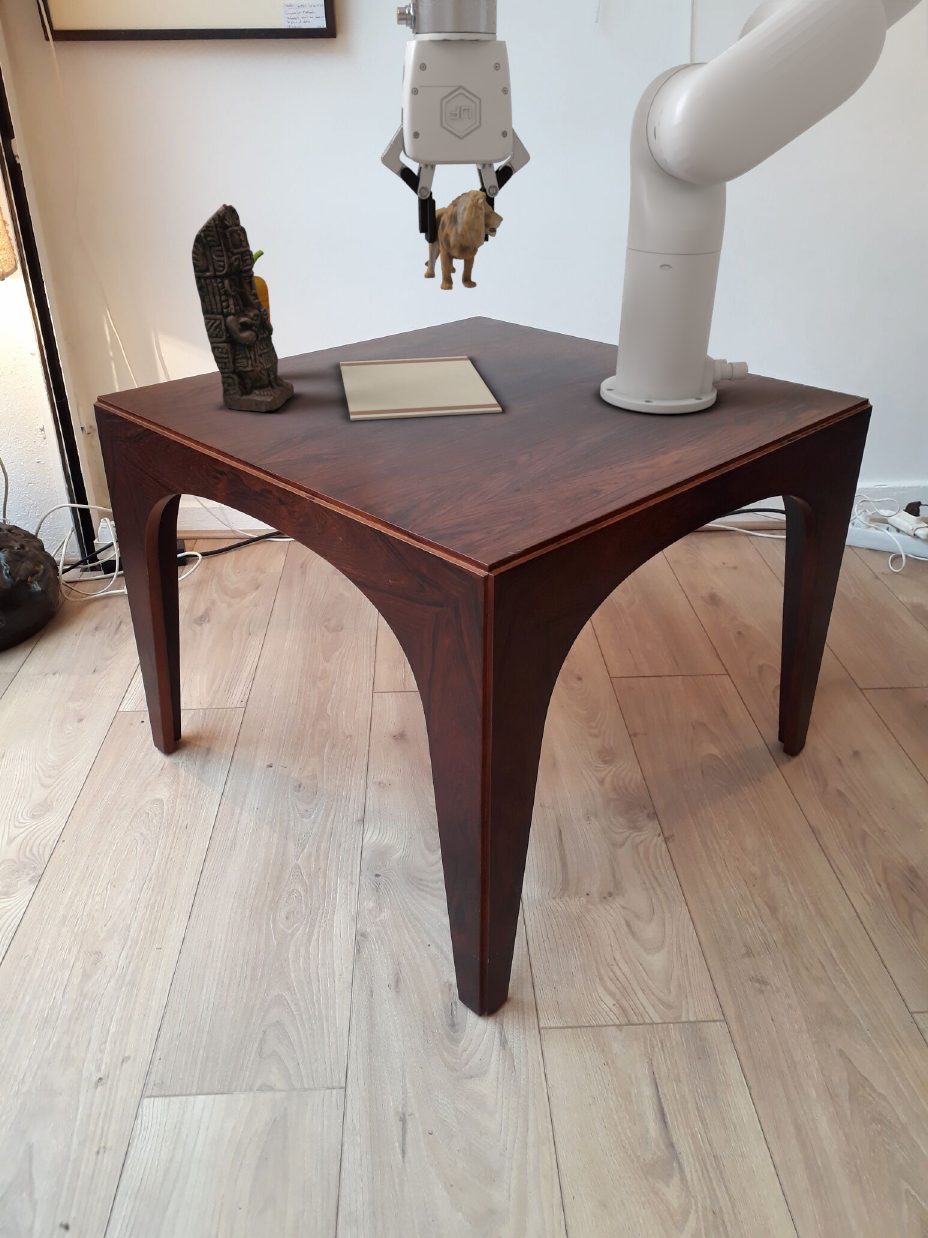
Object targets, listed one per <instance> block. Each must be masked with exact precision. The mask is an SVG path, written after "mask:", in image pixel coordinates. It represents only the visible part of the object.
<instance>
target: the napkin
mask: <svg viewBox="0 0 928 1238" xmlns="http://www.w3.org/2000/svg"><path fill="white" fill-rule="evenodd" d="M339 366H340V371H341V376H342V377H341V378H342V382H343V386H344V392H345V397H346V402H347V408H348V413H349V418H350V421H351V422H352V421H370V420H387V419H388V420H389V419H405V418H406V419H407V418H422V417H441V416H460V415H475V414H476V415H477V414H493V413H494V414H495V413H503V409H502V407H501V405H500V404H499V403H498V402H497V400H496V398H495V397H494V395H493V393H492V392H491V391H490V389H489V388H488V386H487V385H486V383H485V382H484V380H483V379H482V377H481V376H480V374H479V372H478V371H477V370H476V368H475V367H474V365H473V364H472V362H471V360H470V358H469V357H468V356H467V355H463V356H461V355H460V356H440V357H439V356H438V357H437V356H436V357H419V358H417V357H415V358H397V359H396V358H395V359H374V360H353V361H339Z"/></svg>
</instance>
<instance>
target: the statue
mask: <svg viewBox="0 0 928 1238" xmlns="http://www.w3.org/2000/svg"><path fill="white" fill-rule="evenodd" d="M253 254H254V252H253V251H252V250H251V246H250V241H249V239H248V233H247V230H246V228H245V227H244V226H243V225H242V224H241V219H240V215H239V213H238V210H237V209H236V208H235V207H234V206H233V205H232V204H229V205H227V204H226V203H223V204H222V205H221V206H219V207H218V209H217V210H216V211H215V212H214V213H213V214H212V215H211V216H210V217H208V219H207V220H206V221H205V223H204V224H203V225H202V226H201V227H200V228H199V230H198V231H197V233H196V234H195V237H194V239H193V243H192V248H191V261H192V269H193V275H194V281H195V286H196V290H197V294H198V297H199V301H200V307H201V313H202V316H203V322H204V323H203V325H204V328H205V331H206V336H207V338H208V342H209V345H210V351H211V354H212V356H213V359H214V362H215V364H216V367H217V369H218V372H219V374H220V377H221V380H220V381H221V386H222V404H223V406H224V407H225V408H228V409H233V410H240V411H256V412H269V411H275V410H277V409H280V408H281V407H282V406H284V404H285V403H286V401H288V399H290V398H292V397H293V396H294V394H295V387H294V384H293V383H292V382H288V381H286V380H284V379H283V378H282V377H281V376H279V375H278V370H279V369H278V367H279V366H278V365H279V357H278V354H277V351H276V348H275V345H274V343H273V337H272V335H273V334H274V327H273V324H272V322H271V321H270V322H269V320H268V314H269V311H268V310H267V309H266V307H264V306H262V304H261V302H260V301H259V296H258V293H257V287H256V283H255V279H254V276H255V271H254V267H255V264H254V258H253Z"/></svg>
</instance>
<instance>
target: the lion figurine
mask: <svg viewBox="0 0 928 1238" xmlns="http://www.w3.org/2000/svg"><path fill="white" fill-rule="evenodd" d="M503 221H504V217H502V216H501V215H500V214H498V212H496V211H495V210H494V211H493V209H492V207H491V206H489V205H488V203H487V202H486V194H485V193H484V192H481V191H479V189H477V190H475V189H471V190H469V191H468V192H467V191H466V192H463V193H461V194H460V195H458V196H457V197H455V199H453V200H452V201H451V202H450V203H449V204H448V205H447V206H446V207H445V206H443V207H440V208H436V242H434V243H428V242H427V243H428V260H426V261H425V262H424V266H426V267H427V269H426V272H425V273H423V274H424V275H423V278H424V279H434V278H436V271H435V270H436V263H437V260H438V258H440V269H441V284H440V286H439V287H440V289H441V290H443V291H444V290H445V291H451V290H453V288H454V287H453V285H454V280H453V277H452V274H455V273H457V272H456V271H457V269H456V268H455V267H454V260H462V261H463V270H462V275H461V283H462V286H463V287H464V288H467V289H474V288H476V287H477V285H478V284H477V282H476V281H473V280H472V274H473V273H472V272H473V268H474V264H475V258H476V257H475V256H476V255H477V253H478V252H479V248H480V247H482V246H483V245H484V244H485V242H484V238H485V234H488V235H489V237H491V238H495V237H496V236H497V230H498V228H499V227H501V224H502V222H503Z"/></svg>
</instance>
